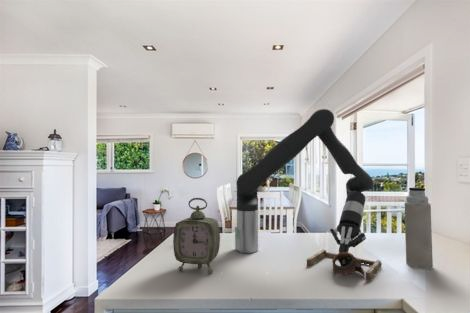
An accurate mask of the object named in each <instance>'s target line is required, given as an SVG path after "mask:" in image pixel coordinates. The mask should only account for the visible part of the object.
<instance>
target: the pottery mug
mask: <svg viewBox="0 0 470 313" xmlns="http://www.w3.org/2000/svg"><path fill="white" fill-rule="evenodd" d="M336 254H337V255H336V256H335V257H334V258H332V261H331V262H332V270H331V271H332V273H333V275H334V277H335V276H336V275H340V276H345V275H349V274H357V273H360V274H361V275H362V277H363V278H364V277H365V270H364V269H363V267H362V264H361V262H360V261H359V260H358V259H357V258H358V257H356V256H354V255H353V254H352V253H350V252H348V253H347V252H340V253H339V252H338V253H336ZM347 258H350V259H347ZM337 261H338V262H339V264H340V265H338V264H336V262H337Z"/></svg>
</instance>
